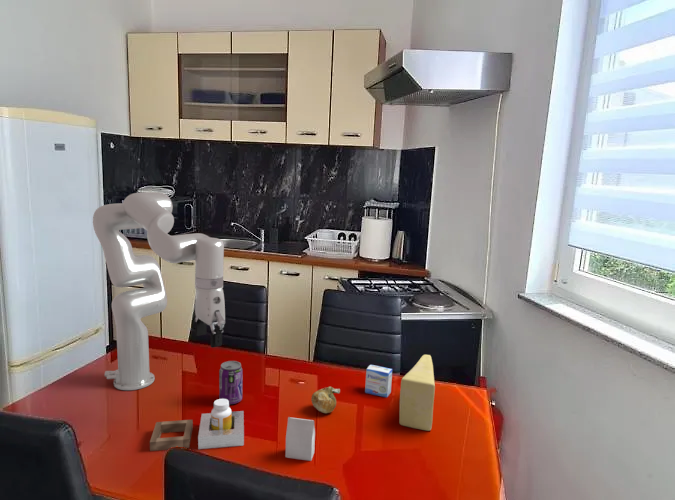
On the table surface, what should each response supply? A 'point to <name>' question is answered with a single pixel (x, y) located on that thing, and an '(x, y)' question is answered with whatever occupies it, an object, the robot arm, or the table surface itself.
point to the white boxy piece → (300, 439)
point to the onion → (325, 399)
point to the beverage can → (231, 381)
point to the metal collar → (221, 432)
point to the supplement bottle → (221, 415)
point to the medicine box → (378, 381)
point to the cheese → (418, 395)
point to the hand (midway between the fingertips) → (208, 340)
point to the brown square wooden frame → (169, 442)
